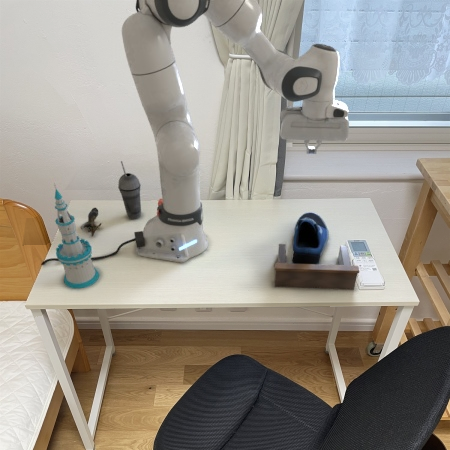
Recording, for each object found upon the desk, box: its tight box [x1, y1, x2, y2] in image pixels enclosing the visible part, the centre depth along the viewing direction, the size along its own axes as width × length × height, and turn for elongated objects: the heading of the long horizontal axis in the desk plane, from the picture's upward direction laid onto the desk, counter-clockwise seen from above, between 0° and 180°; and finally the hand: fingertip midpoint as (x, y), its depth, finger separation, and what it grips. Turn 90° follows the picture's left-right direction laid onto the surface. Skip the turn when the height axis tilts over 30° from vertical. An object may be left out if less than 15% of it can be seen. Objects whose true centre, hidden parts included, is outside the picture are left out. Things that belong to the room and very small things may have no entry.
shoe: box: [291, 211, 329, 264], centre depth 138 cm, size 11×30×12 cm, turn 168°
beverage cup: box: [117, 160, 142, 221], centre depth 151 cm, size 7×7×20 cm
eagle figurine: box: [80, 207, 102, 237], centre depth 150 cm, size 8×7×9 cm
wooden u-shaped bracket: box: [274, 243, 360, 291], centre depth 131 cm, size 23×14×7 cm, turn 86°
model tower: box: [53, 183, 100, 290], centre depth 123 cm, size 10×10×30 cm
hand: (311, 153), depth 142 cm, fingers closed
